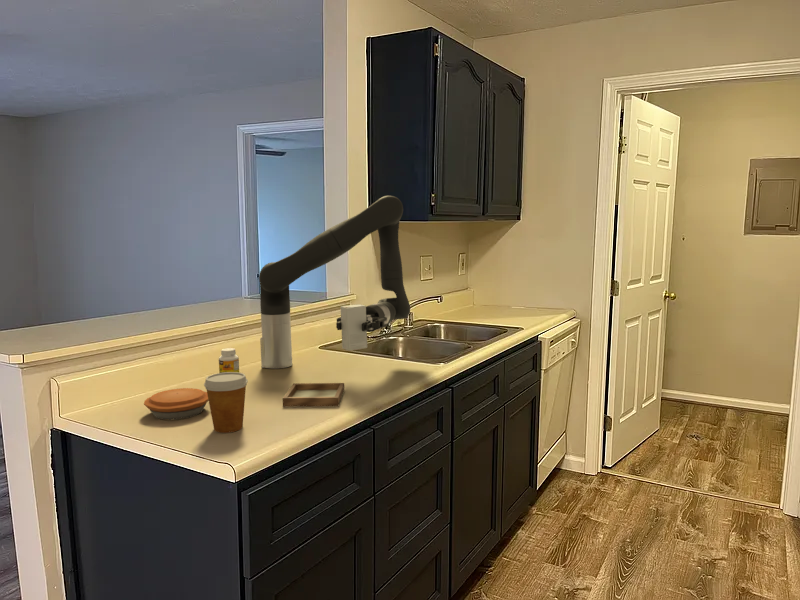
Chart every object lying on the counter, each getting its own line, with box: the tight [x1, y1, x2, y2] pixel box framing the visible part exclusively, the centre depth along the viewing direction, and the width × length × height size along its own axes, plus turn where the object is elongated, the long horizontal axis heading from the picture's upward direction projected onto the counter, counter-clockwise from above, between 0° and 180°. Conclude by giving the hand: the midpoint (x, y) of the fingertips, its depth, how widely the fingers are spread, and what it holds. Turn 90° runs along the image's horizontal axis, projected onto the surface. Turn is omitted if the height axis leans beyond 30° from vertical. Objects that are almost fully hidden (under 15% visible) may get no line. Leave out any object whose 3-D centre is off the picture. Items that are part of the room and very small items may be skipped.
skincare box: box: [340, 304, 368, 352], centre depth 171 cm, size 6×4×12 cm
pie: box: [143, 387, 209, 421], centre depth 153 cm, size 16×16×5 cm
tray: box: [282, 382, 345, 408], centre depth 163 cm, size 14×14×2 cm
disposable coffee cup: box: [203, 371, 249, 434], centre depth 140 cm, size 10×10×12 cm
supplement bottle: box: [218, 347, 240, 373], centre depth 178 cm, size 6×6×10 cm
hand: (350, 327), depth 169 cm, fingers closed on skincare box, 7 cm apart
